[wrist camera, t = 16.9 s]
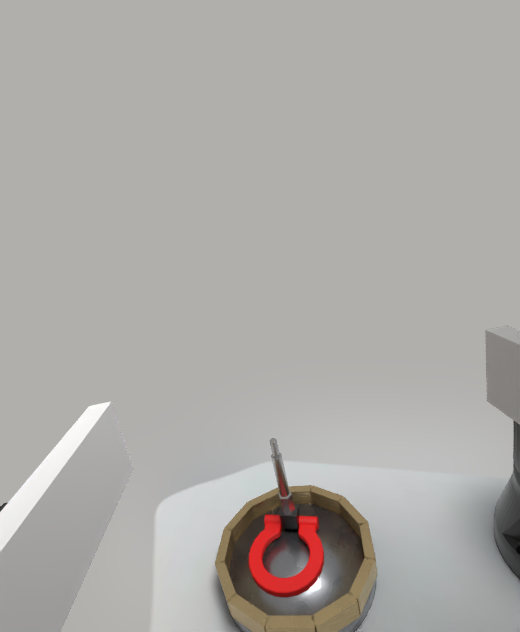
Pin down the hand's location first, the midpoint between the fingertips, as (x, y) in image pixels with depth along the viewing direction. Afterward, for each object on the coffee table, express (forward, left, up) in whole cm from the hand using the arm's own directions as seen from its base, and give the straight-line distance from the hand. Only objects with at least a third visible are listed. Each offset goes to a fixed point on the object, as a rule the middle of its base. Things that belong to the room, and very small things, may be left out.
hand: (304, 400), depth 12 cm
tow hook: (+16, -14, -31) cm, 37 cm away
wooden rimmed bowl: (+15, -14, -32) cm, 38 cm away
